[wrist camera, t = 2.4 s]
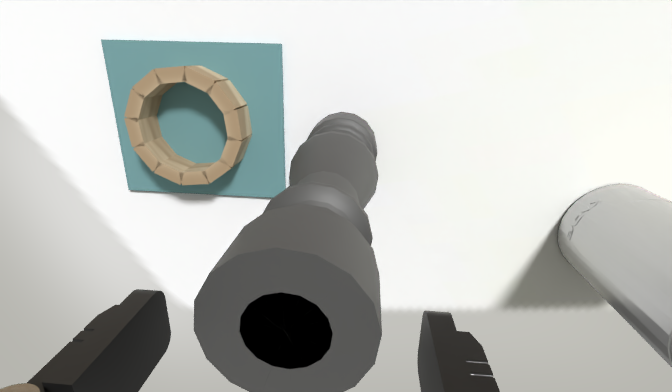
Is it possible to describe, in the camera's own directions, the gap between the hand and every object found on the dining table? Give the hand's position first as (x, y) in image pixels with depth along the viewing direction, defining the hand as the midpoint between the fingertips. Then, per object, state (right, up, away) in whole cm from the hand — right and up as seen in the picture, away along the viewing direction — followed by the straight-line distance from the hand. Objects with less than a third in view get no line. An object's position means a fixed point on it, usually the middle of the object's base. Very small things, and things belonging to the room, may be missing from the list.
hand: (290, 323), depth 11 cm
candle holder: (+2, +9, +23) cm, 25 cm away
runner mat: (-11, +11, +23) cm, 28 cm away
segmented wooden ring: (-11, +11, +23) cm, 28 cm away
